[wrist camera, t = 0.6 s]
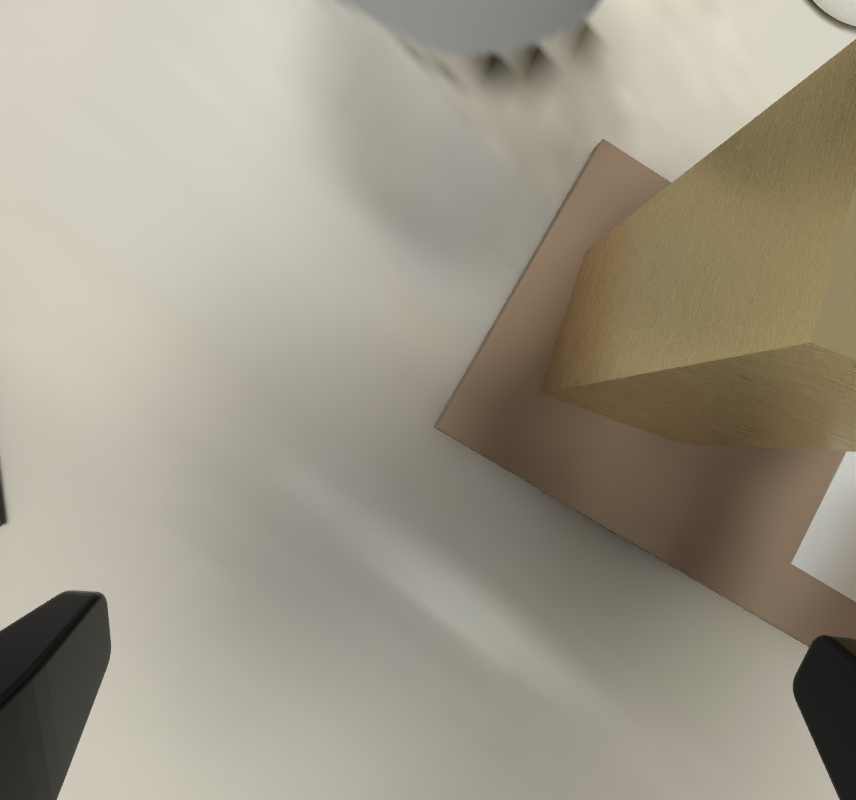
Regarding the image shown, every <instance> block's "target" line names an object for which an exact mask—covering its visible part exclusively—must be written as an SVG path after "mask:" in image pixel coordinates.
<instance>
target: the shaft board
mask: <svg viewBox="0 0 856 800" xmlns="http://www.w3.org/2000/svg"><path fill="white" fill-rule="evenodd" d="M670 184H671V182H669V181H668V180H666V179H664V178H663V177H661V176H660V175H658V174H657V173H655V172H654V171H652V170H651V169H649V168H647V167H646V166H644V165H643V164H641V163H640V162H638V161H637V160H635V159H633V158H632V157H630V156H629V155H627V154H626V153H624V152H623V151H621V150H620V149H618V148H616V147H615V146H613V145H612V144H610V143H609V142H607V141H606V140H604V139H602V140H601V142H600V143H599V144H598V145H597V146H596V148H595V149H594V150H593V152H592V154H591V155H590V157H589V159H588V161H587V162H586V164H585V166H584V168H583V169H582V171H581V173H580V175H579V176H578V178H577V180H576V182H575V183H574V185H573V187H572V189H571V190H570V192H569V194H568V195H567V197H566V199H565V201H564V202H563V204H562V206H561V208H560V209H559V211H558V213H557V215H556V216H555V218H554V220H553V222H552V223H551V225H550V227H549V228H548V230H547V232H546V234H545V235H544V237H543V239H542V241H541V242H540V244H539V246H538V248H537V249H536V251H535V253H534V255H533V256H532V258H531V260H530V262H529V263H528V265H527V267H526V268H525V270H524V272H523V274H522V275H521V277H520V279H519V281H518V282H517V284H516V286H515V288H514V289H513V291H512V293H511V295H510V296H509V298H508V300H507V301H506V303H505V305H504V307H503V308H502V310H501V312H500V314H499V315H498V317H497V319H496V321H495V322H494V324H493V326H492V328H491V329H490V331H489V333H488V334H487V336H486V338H485V340H484V341H483V343H482V345H481V347H480V348H479V350H478V352H477V354H476V355H475V357H474V359H473V361H472V362H471V364H470V366H469V368H468V369H467V371H466V373H465V374H464V376H463V378H462V380H461V381H460V383H459V385H458V387H457V388H456V390H455V392H454V394H453V395H452V397H451V399H450V401H449V402H448V404H447V406H446V407H445V409H444V411H443V413H442V414H441V416H440V418H439V420H438V421H437V423H436V425H435V428H437V429H438V430H440V431H442V432H443V433H445V434H447V435H449V436H450V437H452V438H454V439H455V440H457V441H459V442H461V443H462V444H464V445H466V446H467V447H469V448H471V449H472V450H474V451H476V452H478V453H479V454H481V455H483V456H484V457H486V458H488V459H490V460H491V461H493V462H495V463H496V464H498V465H500V466H501V467H503V468H505V469H507V470H508V471H510V472H512V473H513V474H515V475H517V476H519V477H520V478H522V479H524V480H525V481H527V482H529V483H530V484H532V485H534V486H536V487H537V488H539V489H541V490H542V491H544V492H546V493H548V494H549V495H551V496H553V497H554V498H556V499H558V500H559V501H561V502H563V503H565V504H566V505H568V506H570V507H571V508H573V509H575V510H577V511H578V512H580V513H582V514H583V515H585V516H587V517H589V518H590V519H592V520H594V521H595V522H597V523H599V524H600V525H602V526H604V527H606V528H607V529H609V530H611V531H612V532H614V533H616V534H618V535H619V536H621V537H623V538H624V539H626V540H628V541H629V542H631V543H633V544H635V545H636V546H638V547H640V548H641V549H643V550H645V551H647V552H648V553H650V554H652V555H653V556H655V557H657V558H658V559H660V560H662V561H664V562H665V563H667V564H669V565H670V566H672V567H674V568H676V569H677V570H679V571H681V572H682V573H684V574H686V575H687V576H689V577H691V578H693V579H694V580H696V581H698V582H699V583H701V584H703V585H705V586H706V587H708V588H710V589H711V590H713V591H715V592H716V593H718V594H720V595H722V596H723V597H725V598H727V599H728V600H730V601H732V602H734V603H735V604H737V605H739V606H740V607H742V608H744V609H746V610H747V611H749V612H751V613H752V614H754V615H756V616H757V617H759V618H761V619H763V620H764V621H766V622H768V623H769V624H771V625H773V626H775V627H776V628H778V629H780V630H781V631H783V632H785V633H786V634H788V635H790V636H792V637H793V638H795V639H797V640H798V641H800V642H802V643H804V644H805V645H807V646H809V647H810V645H811V643H812V642H813V640H814V639H815V638H817V637H818V636H821V635H834V636H847V637H851V638H854V639H856V452H848V451H828V450H808V449H788V448H768V447H748V446H728V445H708V444H688V443H677V442H675V441H672V440H669V439H666V438H663V437H661V436H658V435H655V434H652V433H649V432H647V431H644V430H641V429H638V428H635V427H633V426H630V425H627V424H624V423H621V422H619V421H616V420H613V419H610V418H607V417H605V416H602V415H599V414H596V413H593V412H591V411H588V410H585V409H582V408H579V407H576V406H574V405H571V404H568V403H565V402H562V401H560V400H557V399H554V398H551V397H548V396H546V395H543V394H540V390H541V387H542V384H543V381H544V378H545V375H546V372H547V368H548V365H549V362H550V359H551V356H552V353H553V350H554V347H555V344H556V341H557V338H558V335H559V332H560V328H561V325H562V322H563V319H564V316H565V313H566V310H567V307H568V304H569V301H570V298H571V295H572V291H573V288H574V285H575V282H576V279H577V276H578V273H579V270H580V267H581V264H582V261H583V258H584V254H585V251H586V250H587V249H588V248H589V247H591V246H592V245H593V244H594V243H596V242H597V241H598V240H600V239H601V238H602V237H603V236H605V235H606V234H607V233H609V232H610V231H611V230H612V229H614V228H615V227H616V226H617V225H619V224H620V223H621V222H623V221H624V220H625V219H626V218H628V217H629V216H630V215H632V214H633V213H634V212H635V211H637V210H638V209H639V208H641V207H642V206H643V205H644V204H646V203H647V202H648V201H649V200H651V199H652V198H653V197H655V196H656V195H657V194H658V193H660V192H661V191H662V190H664V189H665V188H666V187H667V186H669V185H670Z"/></svg>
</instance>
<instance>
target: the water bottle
mask: <svg viewBox="0 0 856 800" xmlns="http://www.w3.org/2000/svg"><path fill="white" fill-rule="evenodd" d="M813 1H814V2H815V3H816V4H817V5H818V6H819V7H820V8H821V9H822V10H823V11H825V12H826V13H827V14H829V15H830V16H832V17H834V18H835V19H837V20H839V21H841V22H844V23H846V24H849V25H852V26H856V0H813Z"/></svg>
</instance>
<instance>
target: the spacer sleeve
mask: <svg viewBox="0 0 856 800" xmlns="http://www.w3.org/2000/svg"><path fill="white" fill-rule="evenodd" d="M540 394H543V395H546V396H548V397H551V398H554V399H557V400H560V401H562V402H565V403H568V404H571V405H574V406H576V407H579V408H582V409H585V410H588V411H591V412H593V413H596V414H599V415H602V416H605V417H607V418H610V419H613V420H616V421H619V422H621V423H624V424H627V425H630V426H633V427H635V428H638V429H641V430H644V431H647V432H649V433H652V434H655V435H658V436H661V437H663V438H666V439H669V440H672V441H675V442H677V443H688V444H708V445H728V446H748V447H768V448H788V449H808V450H828V451H848V452H856V40H854V41H853V42H852V43H850V44H849V45H848V46H847V47H845V48H844V49H843V50H841V51H840V52H839V53H838V54H836V55H835V56H834V57H832V58H831V59H830V60H829V61H827V62H826V63H825V64H824V65H822V66H821V67H820V68H818V69H817V70H816V71H815V72H813V73H812V74H811V75H809V76H808V77H807V78H806V79H804V80H803V81H802V82H801V83H799V84H798V85H797V86H795V87H794V88H793V89H792V90H790V91H789V92H788V93H786V94H785V95H784V96H783V97H781V98H780V99H779V100H777V101H776V102H775V103H774V104H772V105H771V106H770V107H769V108H767V109H766V110H765V111H763V112H762V113H761V114H760V115H758V116H757V117H756V118H754V119H753V120H752V121H751V122H749V123H748V124H747V125H745V126H744V127H743V128H742V129H740V130H739V131H738V132H737V133H735V134H734V135H733V136H731V137H730V138H729V139H728V140H726V141H725V142H724V143H722V144H721V145H720V146H719V147H717V148H716V149H715V150H713V151H712V152H711V153H710V154H708V155H707V156H706V157H705V158H703V159H702V160H701V161H699V162H698V163H697V164H696V165H694V166H693V167H692V168H690V169H689V170H688V171H687V172H685V173H684V174H683V175H681V176H680V177H679V178H678V179H676V180H675V181H674V182H673V183H671V184H670V185H669V186H667V187H666V188H665V189H664V190H662V191H661V192H660V193H658V194H657V195H656V196H655V197H653V198H652V199H651V200H649V201H648V202H647V203H646V204H644V205H643V206H642V207H641V208H639V209H638V210H637V211H635V212H634V213H633V214H632V215H630V216H629V217H628V218H626V219H625V220H624V221H623V222H621V223H620V224H619V225H617V226H616V227H615V228H614V229H612V230H611V231H610V232H609V233H607V234H606V235H605V236H603V237H602V238H601V239H600V240H598V241H597V242H596V243H594V244H593V245H592V246H591V247H589V248H588V249H587V250H586V251H585V254H584V258H583V261H582V264H581V267H580V270H579V273H578V276H577V279H576V282H575V285H574V288H573V291H572V295H571V298H570V301H569V304H568V307H567V310H566V313H565V316H564V319H563V322H562V325H561V328H560V332H559V335H558V338H557V341H556V344H555V347H554V350H553V353H552V356H551V359H550V362H549V365H548V368H547V372H546V375H545V378H544V381H543V384H542V387H541V390H540Z"/></svg>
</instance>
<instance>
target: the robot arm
mask: <svg viewBox="0 0 856 800" xmlns="http://www.w3.org/2000/svg"><path fill="white" fill-rule="evenodd" d="M110 653H111V638H110V628H109V618H108V607H107V601H106V598H105V596H104V595H103V594H102V593H100V592H91V591H74V590H71V591H65V592H63V593H61V594H59V595H57V596H55V597H54V598H52V599H51V600H49V601H47V602H46V603H44V604H43V605H41V606H39V607H38V608H36V609H35V610H33V611H32V612H30V613H28V614H27V615H25V616H24V617H22V618H20V619H19V620H17V621H16V622H14V623H12V624H11V625H9V626H8V627H6V628H5V629H3V630H1V631H0V800H57V797H58V795H59V792H60V790H61V787H62V785H63V782H64V780H65V777H66V774H67V772H68V769H69V767H70V764H71V761H72V759H73V756H74V753H75V751H76V748H77V745H78V743H79V740H80V738H81V735H82V732H83V730H84V727H85V724H86V722H87V719H88V717H89V714H90V711H91V709H92V706H93V703H94V701H95V698H96V695H97V693H98V690H99V688H100V685H101V682H102V680H103V677H104V674H105V672H106V669H107V666H108V663H109V659H110ZM793 693H794V697H795V700H796V702H797V705H798V707H799V709H800V711H801V714H802V716H803V718H804V720H805V723H806V725H807V727H808V729H809V732H810V734H811V736H812V738H813V741H814V743H815V745H816V747H817V750H818V752H819V754H820V756H821V759H822V761H823V763H824V765H825V768H826V770H827V772H828V774H829V777H830V779H831V781H832V783H833V786H834V788H835V790H836V792H837V795H838V797H839V799H840V800H856V639H854V638H851V637H847V636H834V635H821V636H818V637H817V638H815V639H814V640H813V642H812V643H811V645H810V647H809V649H808V651H807V653H806V655H805V657H804V659H803V661H802V663H801V665H800V667H799V669H798V671H797V673H796V675H795V677H794V680H793Z"/></svg>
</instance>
